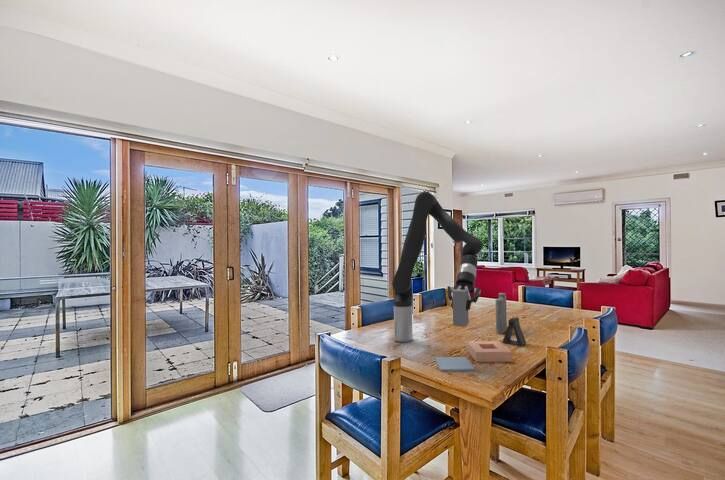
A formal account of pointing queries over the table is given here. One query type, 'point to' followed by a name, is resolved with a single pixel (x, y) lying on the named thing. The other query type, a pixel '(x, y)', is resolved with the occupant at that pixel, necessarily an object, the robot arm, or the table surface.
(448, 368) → the slate pad
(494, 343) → the terracotta cradle
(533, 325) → the table surface
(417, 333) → the table surface
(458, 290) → the charcoal post
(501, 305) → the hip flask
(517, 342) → the dark grey triangular frame
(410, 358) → the table surface
